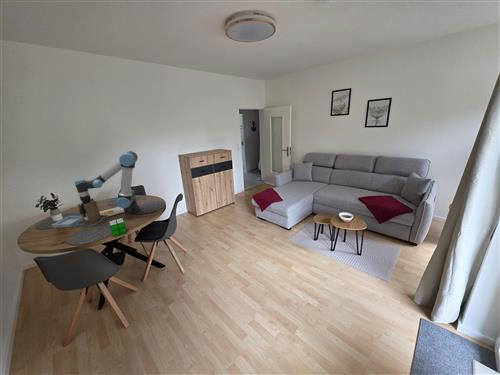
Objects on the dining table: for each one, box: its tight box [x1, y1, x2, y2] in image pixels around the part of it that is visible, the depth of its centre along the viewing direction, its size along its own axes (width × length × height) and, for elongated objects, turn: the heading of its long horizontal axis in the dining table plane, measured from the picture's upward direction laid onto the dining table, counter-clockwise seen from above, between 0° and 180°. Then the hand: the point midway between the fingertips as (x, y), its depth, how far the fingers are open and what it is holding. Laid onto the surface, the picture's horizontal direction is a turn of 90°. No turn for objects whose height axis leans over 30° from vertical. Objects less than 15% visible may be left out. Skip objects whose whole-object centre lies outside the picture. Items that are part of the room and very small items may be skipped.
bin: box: [51, 215, 83, 229], centre depth 191 cm, size 18×18×4 cm
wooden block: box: [77, 200, 101, 223], centre depth 189 cm, size 10×10×20 cm
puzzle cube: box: [109, 218, 128, 237], centre depth 168 cm, size 10×10×10 cm
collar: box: [75, 214, 110, 227], centre depth 191 cm, size 18×18×2 cm
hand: (91, 217), depth 190 cm, fingers closed on wooden block, 11 cm apart
